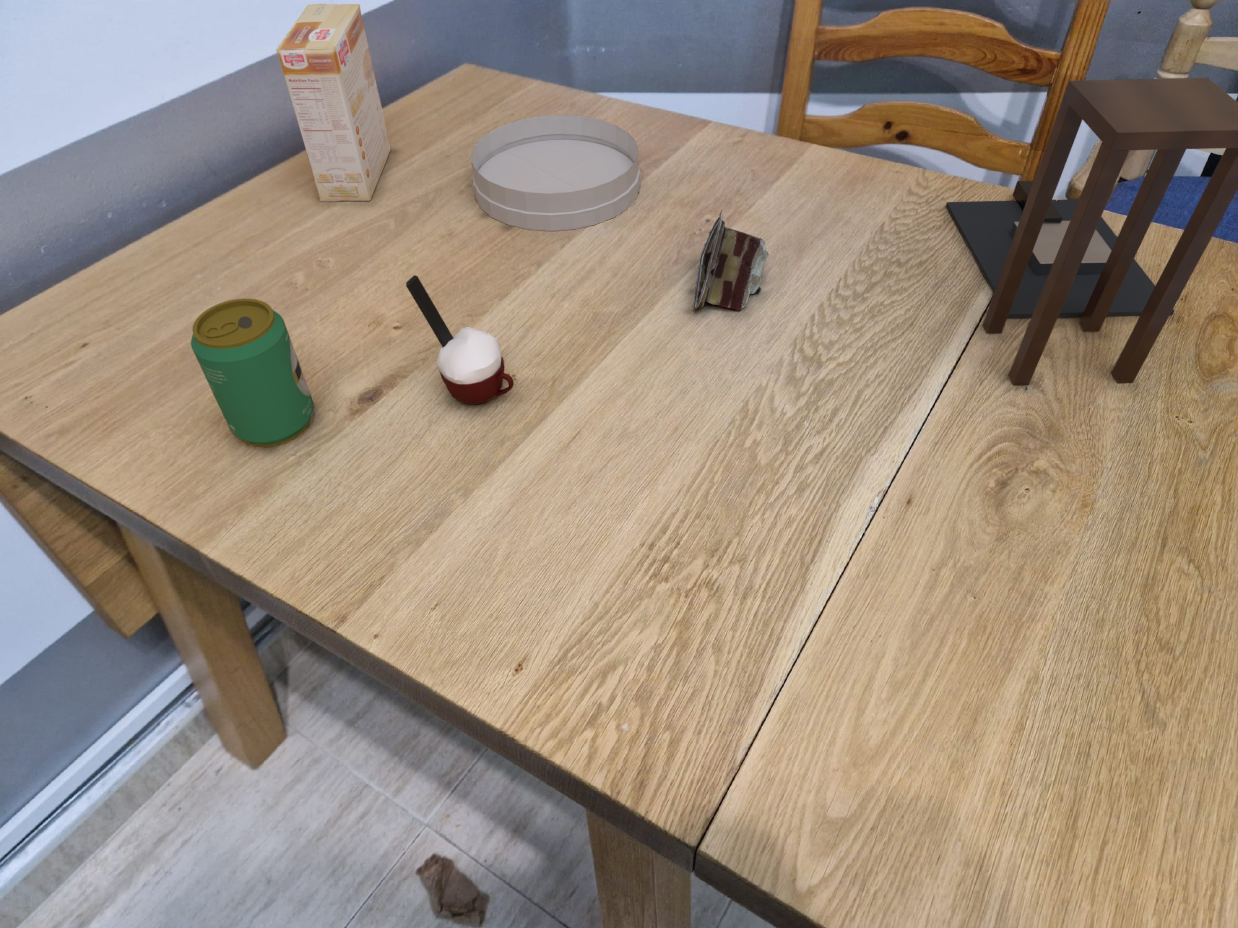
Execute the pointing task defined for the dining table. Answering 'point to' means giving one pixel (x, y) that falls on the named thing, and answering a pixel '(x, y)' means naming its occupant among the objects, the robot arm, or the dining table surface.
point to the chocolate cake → (729, 267)
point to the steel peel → (1058, 239)
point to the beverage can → (253, 371)
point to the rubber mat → (990, 246)
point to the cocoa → (464, 355)
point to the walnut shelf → (1130, 122)
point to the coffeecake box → (336, 100)
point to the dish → (555, 172)
